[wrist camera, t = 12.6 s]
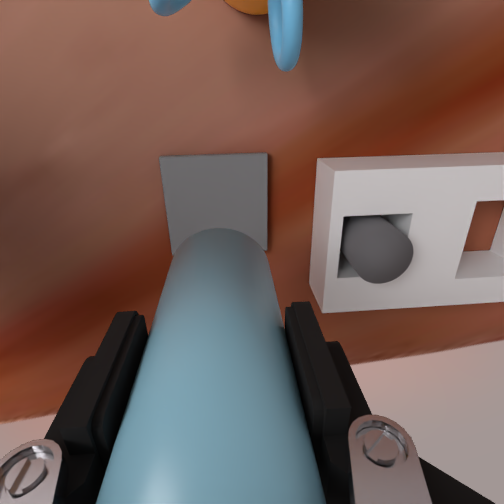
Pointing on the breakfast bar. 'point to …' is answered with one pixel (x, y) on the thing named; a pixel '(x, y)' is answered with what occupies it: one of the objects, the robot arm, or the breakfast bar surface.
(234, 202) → the mat
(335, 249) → the housing
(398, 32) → the breakfast bar surface
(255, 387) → the cartridge
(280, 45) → the cylinder
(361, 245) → the plunger
